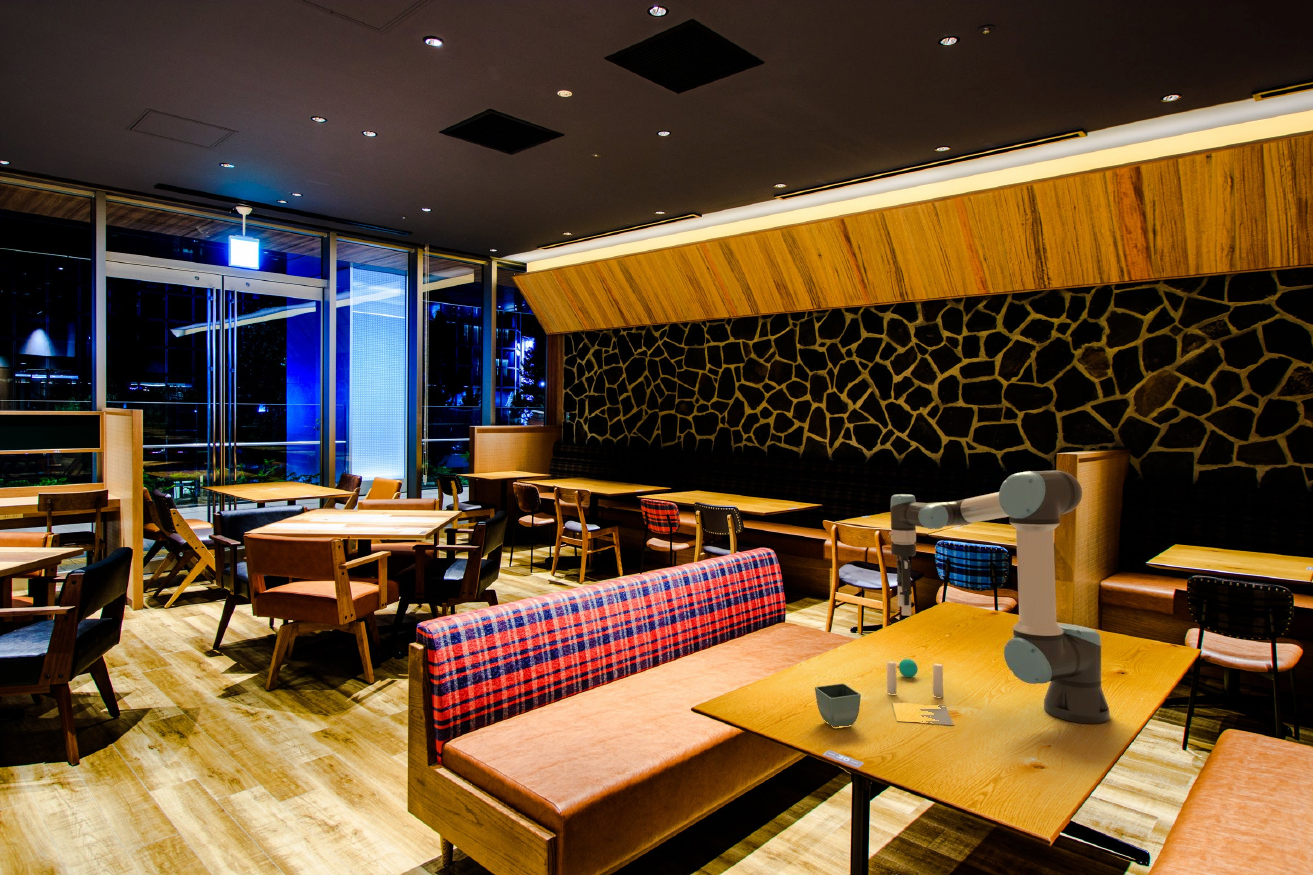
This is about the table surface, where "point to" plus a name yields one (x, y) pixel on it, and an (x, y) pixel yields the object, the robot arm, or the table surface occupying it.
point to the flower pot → (838, 704)
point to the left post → (891, 677)
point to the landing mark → (939, 716)
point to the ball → (908, 668)
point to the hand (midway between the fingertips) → (904, 610)
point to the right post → (938, 680)
